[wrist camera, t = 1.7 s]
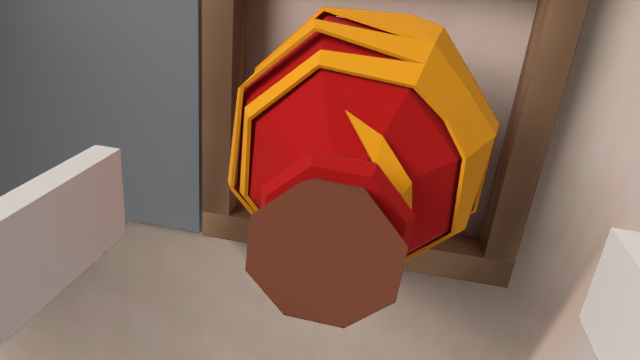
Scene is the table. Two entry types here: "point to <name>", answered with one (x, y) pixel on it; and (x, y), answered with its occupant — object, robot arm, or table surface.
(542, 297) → the table surface
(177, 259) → the table surface
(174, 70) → the coaster
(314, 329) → the table surface
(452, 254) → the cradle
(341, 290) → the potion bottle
